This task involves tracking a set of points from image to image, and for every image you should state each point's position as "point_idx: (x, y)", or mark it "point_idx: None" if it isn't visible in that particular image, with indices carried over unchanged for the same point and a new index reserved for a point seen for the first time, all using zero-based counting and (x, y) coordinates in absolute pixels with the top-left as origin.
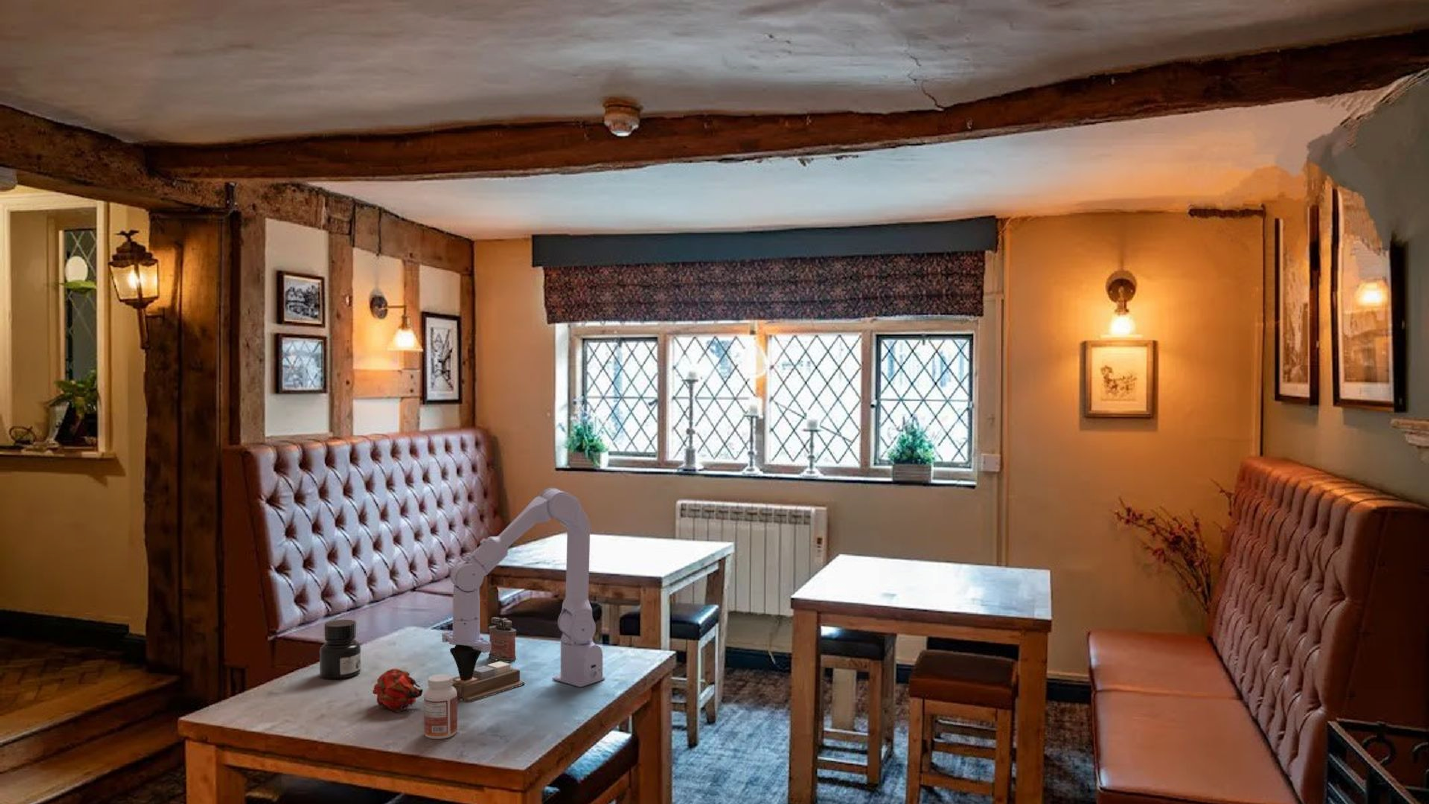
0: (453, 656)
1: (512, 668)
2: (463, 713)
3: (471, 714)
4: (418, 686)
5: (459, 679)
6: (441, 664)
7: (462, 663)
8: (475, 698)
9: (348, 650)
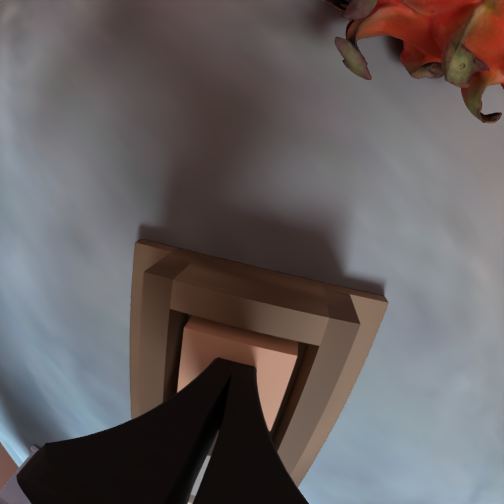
0: (288, 490)
1: None
2: (72, 109)
3: (44, 122)
4: (349, 7)
5: (266, 368)
6: (497, 480)
7: (160, 423)
8: (133, 279)
9: None
